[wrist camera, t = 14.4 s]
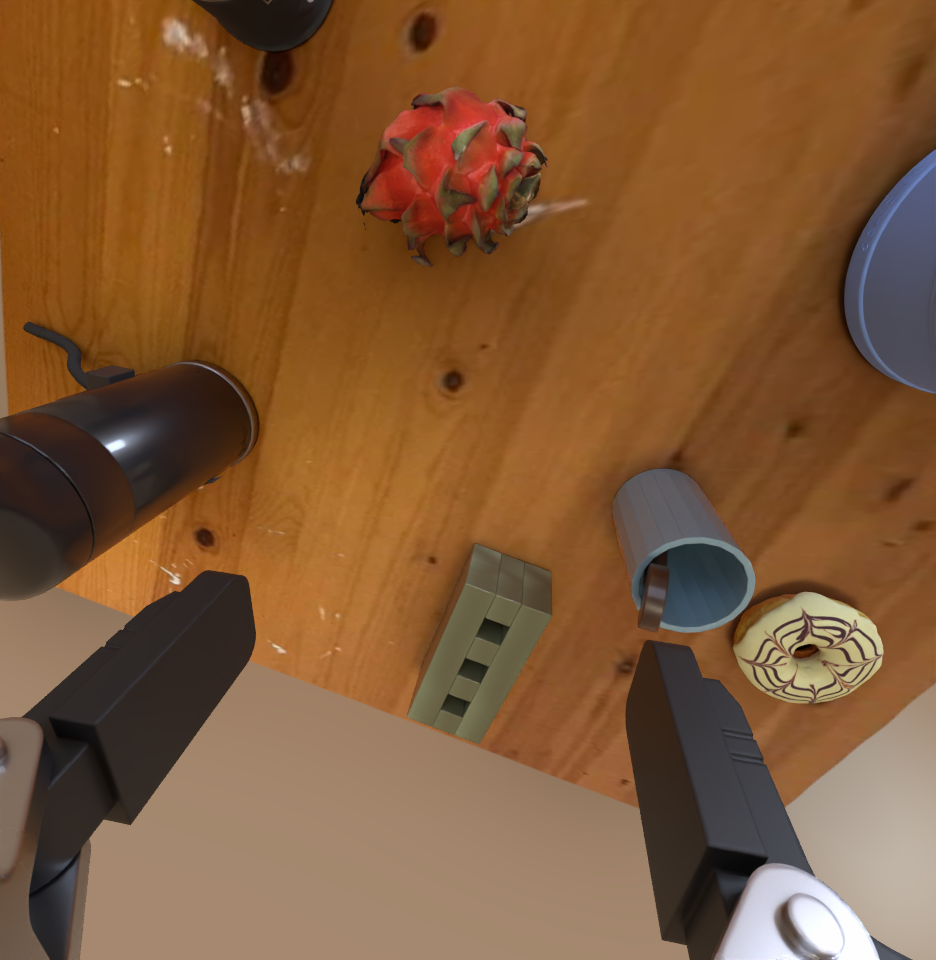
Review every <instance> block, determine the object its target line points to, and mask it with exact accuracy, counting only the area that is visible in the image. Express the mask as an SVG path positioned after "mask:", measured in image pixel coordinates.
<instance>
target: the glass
mask: <svg viewBox="0 0 936 960" xmlns="http://www.w3.org/2000/svg"><path fill="white" fill-rule="evenodd" d="M612 516H613V523H614V527H615V531H616V535H617V539H618V543H619V547H620V551H621V555H622V558H623V562H624V566H625V570H626V574H627V578H628V582H629V586H630V590H631V594H632V598H633V600H634V602H635V604H636V607H637V609H638V610H639V609H640V603H641V598H642V593H643V588H644V585H643V576H644V569H645V568H646V567H647V565H648V564H649V563H650V562H651V561H652V560H653V559H654V558H655V557H656V556H658V555H660V554H661V553H663V552H664V551H666V550H668V561H667V567H669V570H670V576H669V585H668V591H667V597H666V602H665V607H664V612H663V616H662V620H661V623H660V627H662V628H664V629H668V630H672V631H677V632H702V631H706V630H710V629H714V628H717V627H720V626H722V625H724V624H725V623H727V622H729V621H731V620H733V619H734V618H735V617H737V616H738V615H739V614H740V613H741V612H742V611H743V610H744V609H745V608H746V607H747V605H748V603H749V601H750V599H751V598H752V596H753V594H754V588H755V579H756V578H755V573H754V570H753V567H752V564H751V562H750V560H749V559H748V557H747V556H746V554H745V553H744V551H743V550H742V548H741V547H740V545H739V544H738V542H737V541H736V539H735V538H734V536H733V535H732V533H731V532H730V530H729V529H728V527H727V526H726V524H725V523H724V521H723V520H722V518H721V516H720V515H719V513H718V512H717V510H716V509H715V507H714V506H713V504H712V503H711V501H710V500H709V498H708V497H707V495H706V494H705V492H704V491H703V490H702V489H701V487H700V486H699V484H698V483H697V482H696V481H695V480H694V479H693V478H691V477H690V476H688V475H687V474H685V473H682V472H680V471H677V470H672V469H653V470H648V471H645V472H642V473H640V474H638V475H636V476H634V477H632V478H631V479H629V480H628V481H627V482H626V483H625V484H624V485H623V486H622V487H621V488H620V490H619V491H618V493H617V494H616V496H615V499H614V502H613V506H612Z"/></svg>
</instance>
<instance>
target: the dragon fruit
mask: <svg viewBox="0 0 936 960" xmlns="http://www.w3.org/2000/svg"><path fill="white" fill-rule="evenodd" d="M411 105H412V106H413V105H414V107H413V108H412V109H411V110H406V111H403V112H401V113H399V115H398V116H397V118H396V119H395V120H393V121H392V122H391V123H390V124H389V125H388V126H387V127H386V128H385V130H384V132H383V134H382V136H381V139H380V141H379V145H378V151H377V155H376V158H375V161H374V163H373V164H372V166H371V167H370V168H369V170H368V171H367V172H366V174H365V175H364V177H363V179H362V183H361V186H360V194H359V195H358V197H357V199H356V204H357V205H358V208H360V209H361V211H362V213H363V215H365V211H366V212H367V213H368V212H369V213H370V214H371V215H373V216H374V217H376V218H378V219H380V220H384V221H387V220H389V221H390V222H393V223H398V222H399V221H401V220H402V223H403V233H404V234H405V235H407V237H408V250H414V249H415V247H416V248H417V251H418V253H419V255H420V256H411V258H412V260H413V261H415V262H416V263H418V264H421V265H423V266H431V267H433V265H432V264H431V263H430V262H429V260H428V258H427V257H426V255H425V253H424V250H423V248H424V247H423V246H424V241H425V240H426V239H427V238H428V237H429V236H431V235H435V234H443V235H444V237H445V243H446V247H447V249H448V250H449V251H450V252H451V253H452V254H453V255H454V256H457V257H460V256H462V255H463V254H464V253H465V252H466V248H467V246H466V244H467V242H468V240H469V239H470V238H473V239H474V241H475V243H476V245H477V246H478V248H480V249H481V250H482V251H483V252H485V253H486V254H491V253H492V252H494V251H495V250H496V249H497V248H498V245H499V243H498V242H497V243H494V242H493V241H492V240H491V229H492V230H494V231H495V232H497V233H499V234H502V235H505V236H510V235H511V234H512V232H513V230H514V224H517V223H521V222H522V221H523V220H524V219H525V218H526V216H527V215H528V210H527V209H528V203H529V202H530V201H531V200H533V199H534V198H535V197H536V196H537V193H538V191H539V185H540V180H541V179H540V173H538V172H539V171H540V170H541V165H542V164H543V163H545V165H546V167H548V166H547V164H546V160H547V158H546V157H545V155H544V152H543V150H542V149H541V147H540V146H539V145H538V144H537V143H535V142H530V141H528V140H527V139H526V138H525V134H526V131H527V125H526V124H525V121H526V114H527V112H526V109H524V108H522V107H518V106H514V105H511V104H509V103H507V102H505V101H504V100H501V99H495V100H493V101H492V102H490V103H487V104H485V103H483V102H481V101H480V100H479V99H478V97H477V96H476V95H475V94H474V93H472V92H470V91H468V90H465V89H462V88H458V87H454V88H449V89H445V90H443V91H442V92H440V93H438V94H433V95H430V94H427V93H421V94H419V95H417V96H416V97H415V98H414V99H413V102H412V104H411ZM367 191H368V193H367ZM364 194H366V195H365V197H364ZM363 198H364V199H363ZM359 214H360V213H359ZM364 226H365V223H364ZM365 230H366V229H365ZM467 235H468V236H467ZM415 237H416V238H415Z"/></svg>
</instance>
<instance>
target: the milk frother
mask: <svg viewBox="0 0 936 960" xmlns="http://www.w3.org/2000/svg"><path fill="white" fill-rule="evenodd" d="M193 1H194V2H196V3H197V4H198V5H200V6H201V7H202V8H204V9H205V10H206V11H208V12H209V13H210V14H212V15H213V16H214V17H216V18H217V20H218V21H219V22H220V24H221V25H222V26H223V27H224V28H225V29H226V30H227V31H228V32H229V33H230V34H232V35H233V36H234V37H235V38H237V39H238V40H240V41H242V42H243V43H244V44H247V45H249V46H251V47H253V48H256V49H259V50H264V51H269V52H271V51H275V52H279V51H285V50H289V49H292V48H294V47H296V46H298V45H300V44H301V43H303V42H305V41H306V40H307V39H308V38H309V37H310V36H311V35H313V34H314V32H315V31H316V30H317V29H318V27H319V26H320V24H321V23H322V21H323V20H324V18H325V16H326V14H327V12H328V10H329V7H330V5H331V2H332V0H193Z"/></svg>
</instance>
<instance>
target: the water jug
mask: <svg viewBox="0 0 936 960" xmlns="http://www.w3.org/2000/svg"><path fill="white" fill-rule="evenodd" d="M844 307H845V316H846V321H847V325H848V328H849V331H850V334H851V336H852V339H853V341H854V343H855V345H856V346H857V348H858V349H859V351H860V352H861V354H862V355H863V356H864V357H865V359H866V360H867V361H868V362H869V363H870V364H871V365H872V366H874V367H875V368H876V369H877V370H879V371H880V372H881V373H883V374H884V375H886V376H888V377H890V378H891V379H893V380H896V381H898V382H900V383H903V384H905V385H908V386H911V387H913V388H916V389H919V390H922V391H926V392H930V393H934V394H936V150H934V151H933V152H932V153H930V154H929V155H928V156H926V157H925V158H924V159H923V160H921V161H920V162H919V163H918V164H917V165H916V166H914V167H913V168H912V169H911V170H910V171H909V172H908V173H907V174H906V175H905V176H904V177H903V178H902V179H901V180H900V181H899V182H898V183H897V184H896V185H895V186H894V187H893V189H892V190H891V191H890V192H889V193H888V194H887V196H886V197H885V198H884V199H883V201H882V202H881V203H880V205H879V206H878V207H877V209H876V210H875V212H874V213H873V215H872V216H871V218H870V219H869V221H868V223H867V224H866V226H865V228H864V230H863V232H862V234H861V236H860V238H859V240H858V242H857V244H856V247H855V249H854V252H853V254H852V257H851V260H850V264H849V267H848V271H847V276H846V282H845V291H844Z"/></svg>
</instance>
